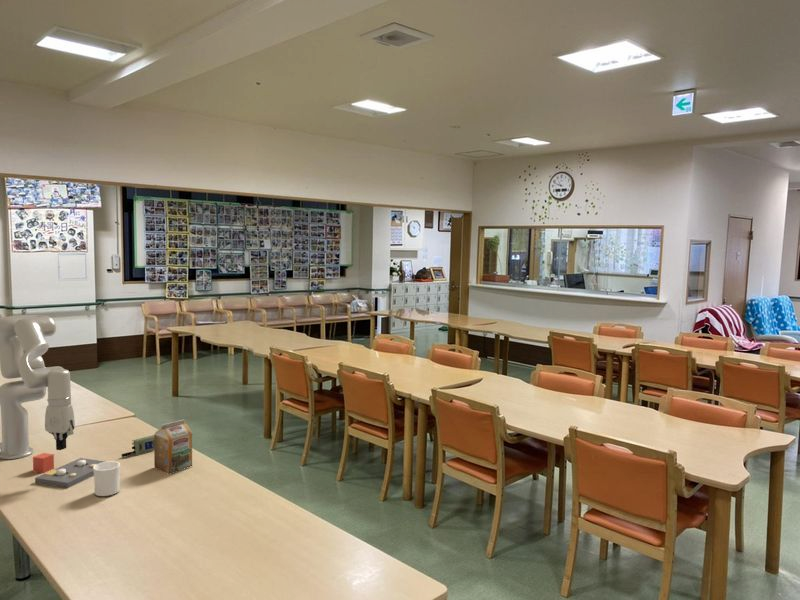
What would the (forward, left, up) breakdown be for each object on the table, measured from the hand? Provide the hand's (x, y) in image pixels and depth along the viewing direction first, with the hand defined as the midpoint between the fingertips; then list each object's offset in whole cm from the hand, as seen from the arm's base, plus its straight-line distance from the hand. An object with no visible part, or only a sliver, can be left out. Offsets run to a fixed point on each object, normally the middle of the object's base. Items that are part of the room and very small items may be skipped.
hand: (61, 448), depth 221 cm
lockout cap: (-14, +5, -12) cm, 19 cm away
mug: (+25, -4, -12) cm, 28 cm away
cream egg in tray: (-1, 0, -11) cm, 11 cm away
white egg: (-1, +10, -11) cm, 15 cm away
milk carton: (+32, +24, -12) cm, 42 cm away
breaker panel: (+1, +5, -12) cm, 13 cm away
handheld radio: (+10, +38, -13) cm, 41 cm away
